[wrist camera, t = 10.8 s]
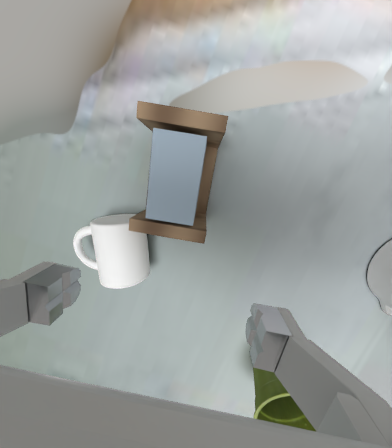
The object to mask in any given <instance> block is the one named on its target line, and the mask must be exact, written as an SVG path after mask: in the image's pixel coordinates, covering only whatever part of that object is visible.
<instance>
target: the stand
mask: <svg viewBox="0 0 392 448" xmlns="http://www.w3.org/2000/svg"><path fill="white" fill-rule="evenodd" d="M137 119H139V120H140V121H141V122H142V123H143V124H144V125H145V126H147V127H148V128H149V129H150V130H151V131H152V132H153V128H158V129H164V130H171V131H177V132H183V133H189V134H195V135H201V136H207V145H206V151H205V157H204V163H203V170H202V176H201V182H200V188H199V195H198V201H197V207H196V213H195V218H194V223H193V226H190V225H184V224H178V223H172V222H166V221H160V220H154V219H148V218H145V217H146V209H145V210H144V211H142V212H140V213H138V214H136V215H135V216H133V217H131V218H129V231H133V232H139V233H145V234H151V235H157V236H163V237H169V238H174V239H180V240H186V241H192V242H198V243H204V242H205V237H206V210H207V205H208V199H209V194H210V188H211V183H212V177H213V172H214V166H215V161H216V155H217V150H218V147H219V145H220V142H221V140H222V138H223V136H224V134H225V131H226V125H227V120H228V116H224V115H218V114H212V113H206V112H201V111H195V110H189V109H183V108H177V107H171V106H165V105H159V104H154V103H148V102H142V101H138V104H137ZM151 149H152V148H151ZM150 160H151V159H150ZM149 172H150V170H149ZM148 183H149V181H148ZM147 194H148V191H147ZM146 206H147V202H146Z"/></svg>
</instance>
